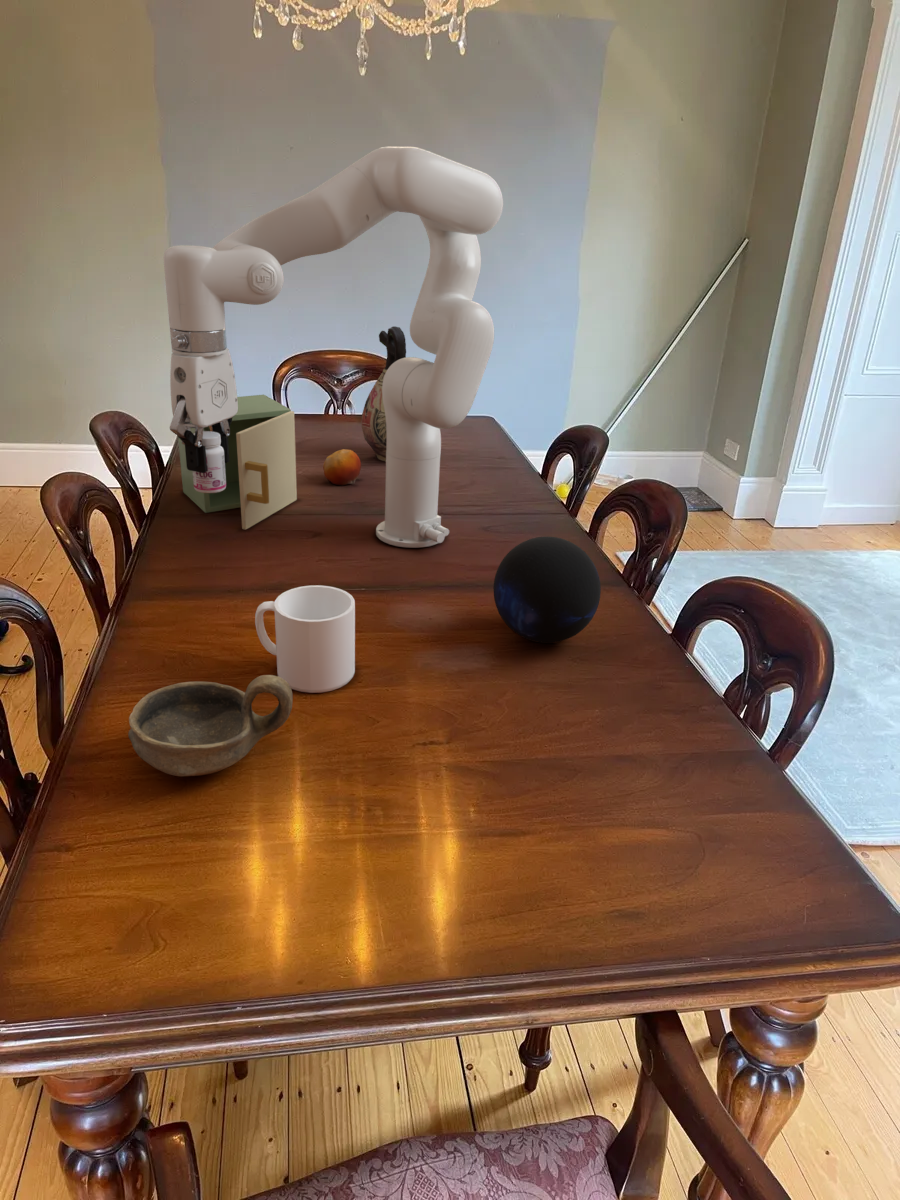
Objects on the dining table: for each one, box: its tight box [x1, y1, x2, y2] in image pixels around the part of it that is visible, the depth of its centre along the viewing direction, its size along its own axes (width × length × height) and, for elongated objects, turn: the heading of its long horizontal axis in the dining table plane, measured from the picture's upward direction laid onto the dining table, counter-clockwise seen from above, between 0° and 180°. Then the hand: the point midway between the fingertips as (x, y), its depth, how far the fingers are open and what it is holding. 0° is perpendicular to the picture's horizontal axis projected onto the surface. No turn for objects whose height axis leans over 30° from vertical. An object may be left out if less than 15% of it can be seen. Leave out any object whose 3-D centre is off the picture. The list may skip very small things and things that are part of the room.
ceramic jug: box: [361, 326, 407, 462], centre depth 187 cm, size 17×15×30 cm
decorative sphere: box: [493, 536, 602, 644], centre depth 118 cm, size 15×15×15 cm
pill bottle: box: [193, 431, 226, 493], centre depth 125 cm, size 5×5×8 cm
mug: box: [254, 584, 356, 694], centre depth 107 cm, size 13×10×10 cm
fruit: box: [322, 448, 362, 486], centre depth 176 cm, size 8×8×8 cm
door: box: [236, 410, 298, 531], centre depth 153 cm, size 5×18×18 cm, turn 159°
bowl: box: [127, 674, 294, 777], centre depth 90 cm, size 14×18×10 cm
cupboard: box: [177, 394, 292, 514], centre depth 162 cm, size 13×18×18 cm
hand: (208, 464), depth 125 cm, fingers closed on pill bottle, 4 cm apart
